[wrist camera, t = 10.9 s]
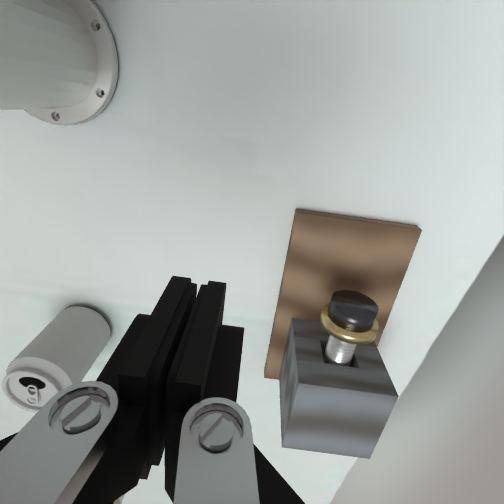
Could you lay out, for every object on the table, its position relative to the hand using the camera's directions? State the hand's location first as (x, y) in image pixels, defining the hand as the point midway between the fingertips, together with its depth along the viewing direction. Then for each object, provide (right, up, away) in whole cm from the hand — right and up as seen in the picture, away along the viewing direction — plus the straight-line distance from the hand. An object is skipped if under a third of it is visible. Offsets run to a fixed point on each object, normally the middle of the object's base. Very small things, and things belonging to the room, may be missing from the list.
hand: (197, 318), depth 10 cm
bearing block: (+12, -5, +32) cm, 34 cm away
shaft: (+11, -10, +30) cm, 34 cm away
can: (-22, -8, +35) cm, 42 cm away
